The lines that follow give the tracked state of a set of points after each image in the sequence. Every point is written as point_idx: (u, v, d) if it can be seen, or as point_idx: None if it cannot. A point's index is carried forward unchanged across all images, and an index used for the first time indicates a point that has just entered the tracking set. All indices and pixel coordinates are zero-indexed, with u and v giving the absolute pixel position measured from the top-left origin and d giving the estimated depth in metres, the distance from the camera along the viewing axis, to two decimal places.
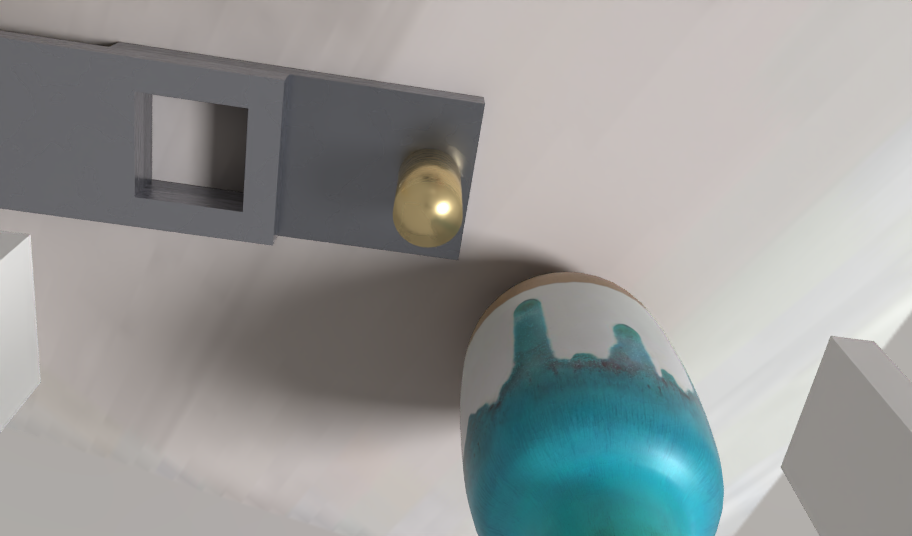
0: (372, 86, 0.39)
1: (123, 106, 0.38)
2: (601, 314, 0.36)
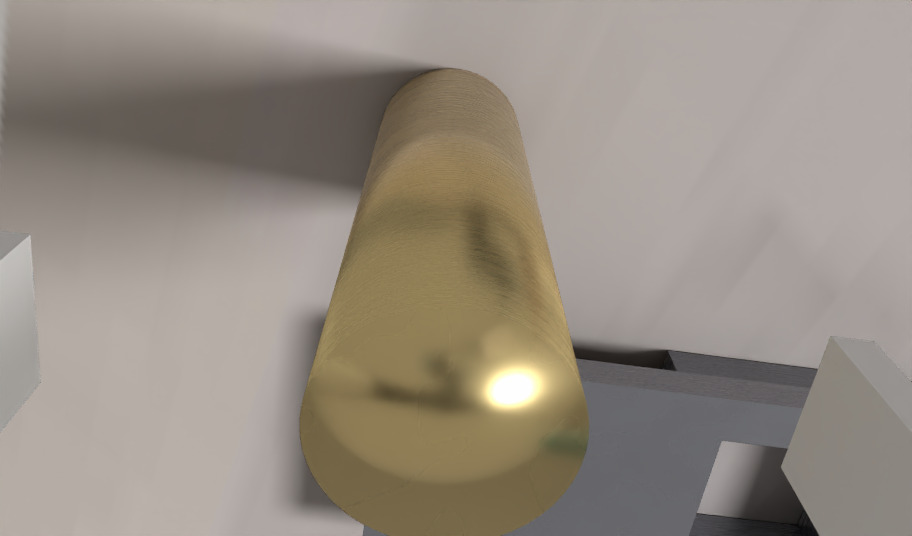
0: None
1: (700, 458, 0.26)
2: None
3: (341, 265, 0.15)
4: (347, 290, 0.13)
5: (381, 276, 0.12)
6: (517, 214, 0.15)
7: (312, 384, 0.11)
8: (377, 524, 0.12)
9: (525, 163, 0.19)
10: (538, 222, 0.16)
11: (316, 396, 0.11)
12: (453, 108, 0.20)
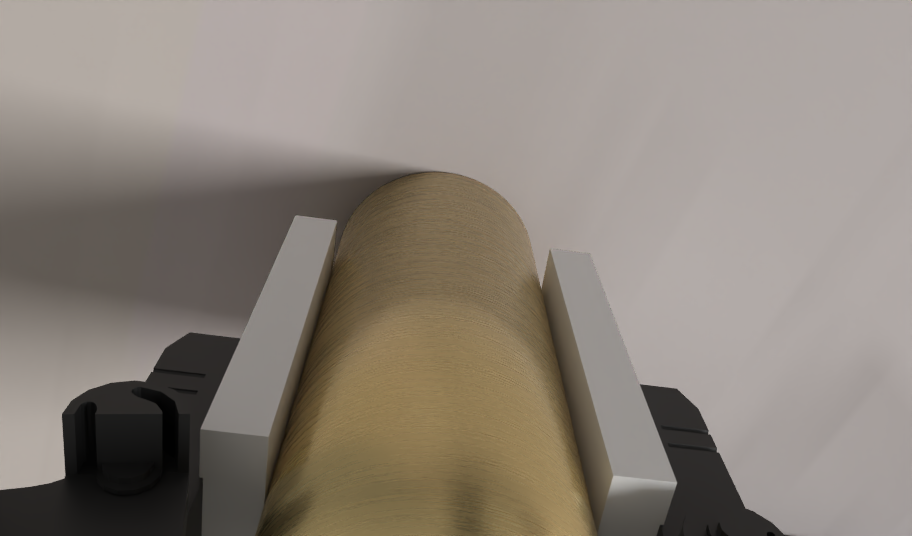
0: None
1: None
2: None
3: None
4: None
5: None
6: None
7: None
8: None
9: (550, 349, 0.12)
10: (586, 517, 0.09)
11: None
12: (438, 260, 0.13)
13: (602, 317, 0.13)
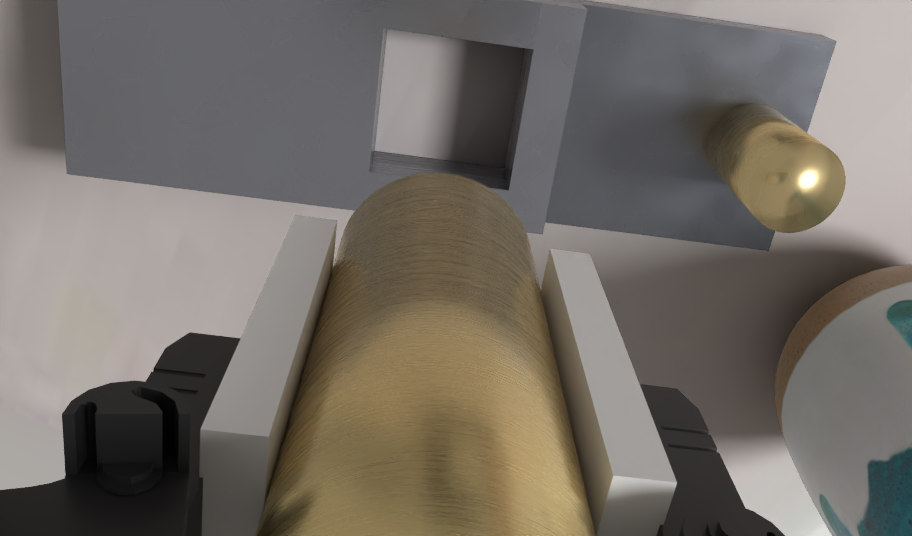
0: (689, 19, 0.29)
1: (366, 49, 0.28)
2: None
3: None
4: None
5: None
6: None
7: None
8: None
9: (549, 349, 0.13)
10: (583, 515, 0.09)
11: None
12: (436, 260, 0.13)
13: (602, 317, 0.13)
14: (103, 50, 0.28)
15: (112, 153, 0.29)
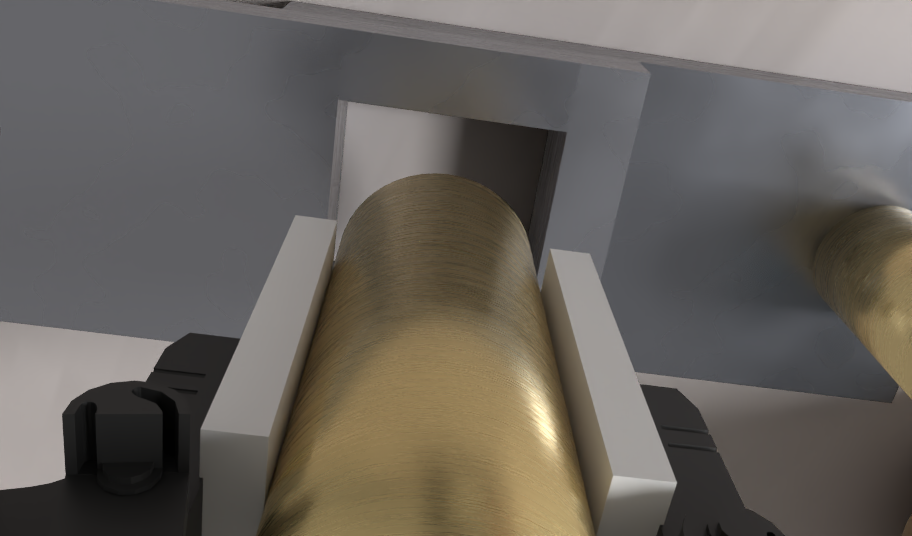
0: (798, 85, 0.19)
1: (313, 130, 0.18)
2: None
3: None
4: None
5: None
6: None
7: None
8: None
9: (549, 350, 0.13)
10: (583, 516, 0.09)
11: None
12: (436, 261, 0.13)
13: (602, 317, 0.13)
14: None
15: None
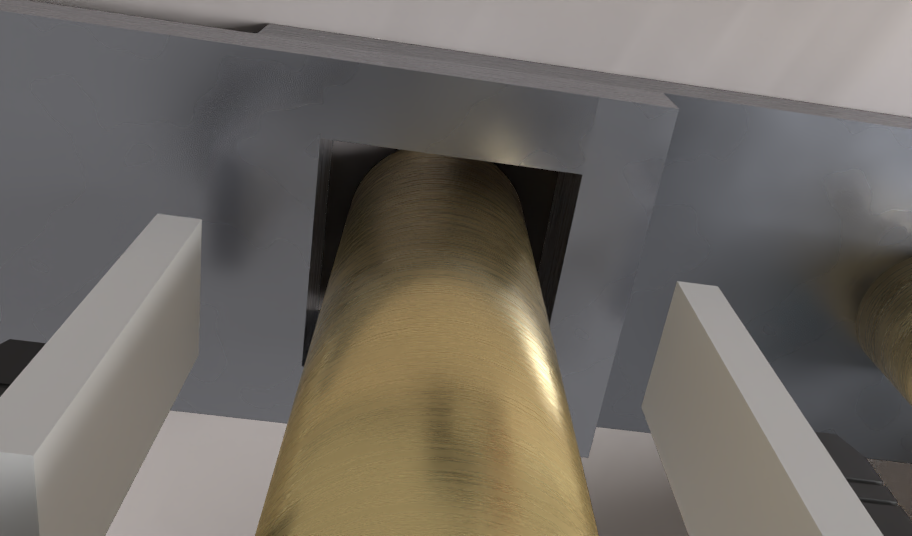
0: (843, 118, 0.17)
1: (292, 172, 0.16)
2: None
3: (266, 499, 0.10)
4: None
5: None
6: (534, 418, 0.10)
7: None
8: None
9: (537, 289, 0.14)
10: (562, 409, 0.11)
11: None
12: (438, 212, 0.15)
13: (754, 358, 0.13)
14: None
15: None
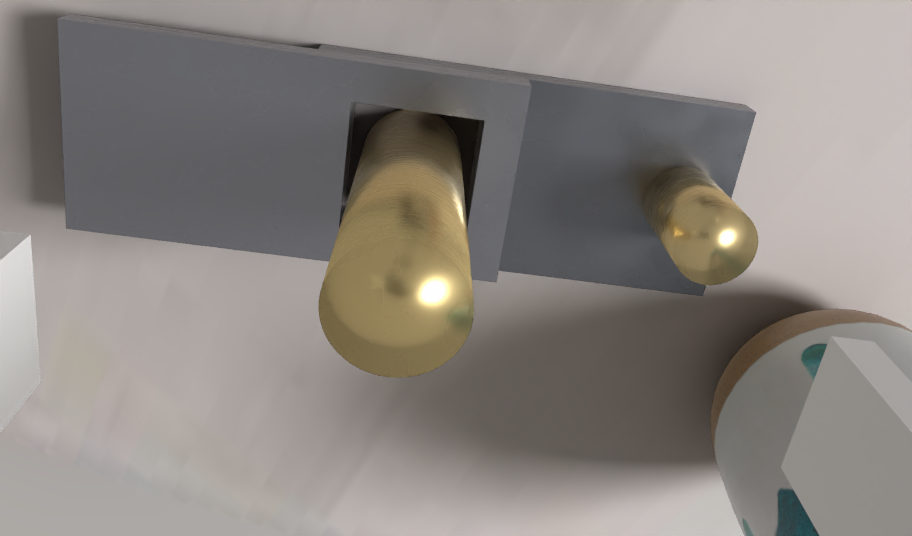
0: (624, 93, 0.32)
1: (336, 119, 0.31)
2: None
3: (339, 229, 0.25)
4: (343, 237, 0.23)
5: (362, 227, 0.22)
6: (443, 198, 0.25)
7: (325, 281, 0.21)
8: (360, 364, 0.22)
9: (457, 171, 0.30)
10: (458, 205, 0.26)
11: (327, 288, 0.21)
12: (410, 135, 0.30)
13: None
14: (100, 120, 0.31)
15: (107, 210, 0.33)
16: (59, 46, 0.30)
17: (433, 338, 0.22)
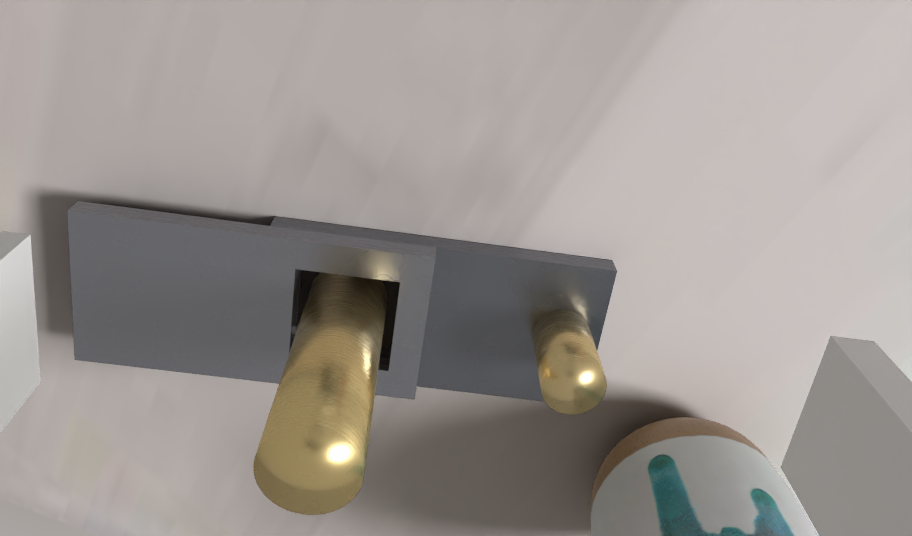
0: (512, 256, 0.41)
1: (284, 281, 0.40)
2: (736, 477, 0.39)
3: (275, 395, 0.34)
4: (273, 413, 0.32)
5: (286, 409, 0.31)
6: (352, 372, 0.34)
7: (258, 453, 0.30)
8: (285, 506, 0.31)
9: (374, 329, 0.38)
10: (367, 371, 0.35)
11: (259, 457, 0.30)
12: (339, 300, 0.39)
13: None
14: (101, 282, 0.40)
15: (107, 346, 0.42)
16: (69, 230, 0.39)
17: (336, 489, 0.31)
